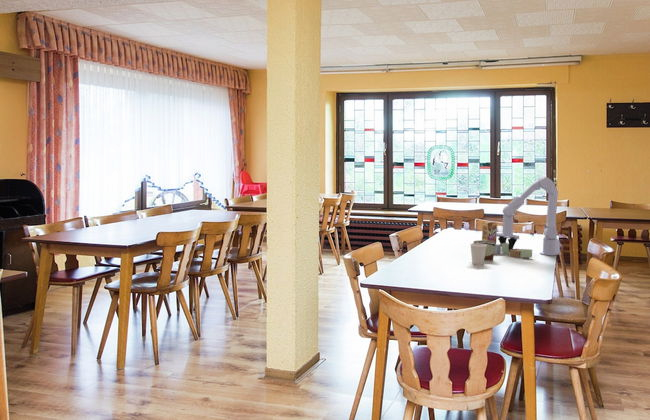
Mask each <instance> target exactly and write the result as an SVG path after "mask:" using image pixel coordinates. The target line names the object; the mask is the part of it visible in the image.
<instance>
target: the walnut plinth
mask: <svg viewBox="0 0 650 420" xmlns="http://www.w3.org/2000/svg"><path fill="white" fill-rule="evenodd" d="M521 249H522V248H513V249H510V253H509V257H511V258H517V259H518V258H519V259H520V258H521V257H520V253H521Z"/></svg>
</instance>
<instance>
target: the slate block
mask: <svg viewBox="0 0 650 420" xmlns="http://www.w3.org/2000/svg"><path fill="white" fill-rule="evenodd" d="M500 254H502V253H501V244H500V243H496V246H495V251H494V255H496V256H498V255H500Z"/></svg>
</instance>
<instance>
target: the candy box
mask: <svg viewBox="0 0 650 420" xmlns="http://www.w3.org/2000/svg"><path fill="white" fill-rule="evenodd" d="M481 233H482V235H481V240H484V241H494V242H495V243H496V244H497V239H498V237H496V233H498V222H497V221H484V222H482V231H481Z"/></svg>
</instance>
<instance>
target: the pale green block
mask: <svg viewBox="0 0 650 420" xmlns="http://www.w3.org/2000/svg"><path fill="white" fill-rule="evenodd" d="M520 249H521V253H520V258H522V259H524V260H530V259H531V258H533V249H531V248H530V249H529V248H520Z"/></svg>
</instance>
